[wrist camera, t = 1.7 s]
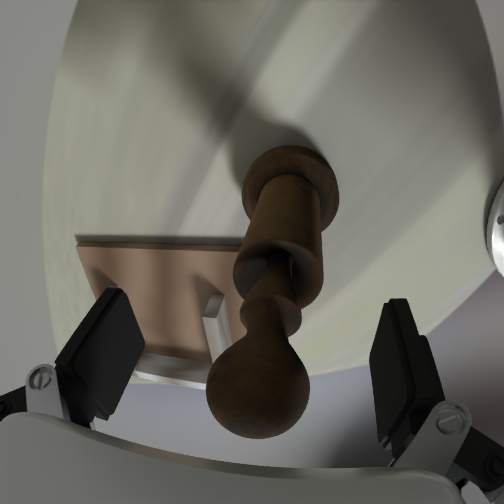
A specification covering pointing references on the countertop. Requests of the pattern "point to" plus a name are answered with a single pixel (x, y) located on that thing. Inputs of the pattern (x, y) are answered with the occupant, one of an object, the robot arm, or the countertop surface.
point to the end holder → (172, 302)
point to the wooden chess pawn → (274, 292)
